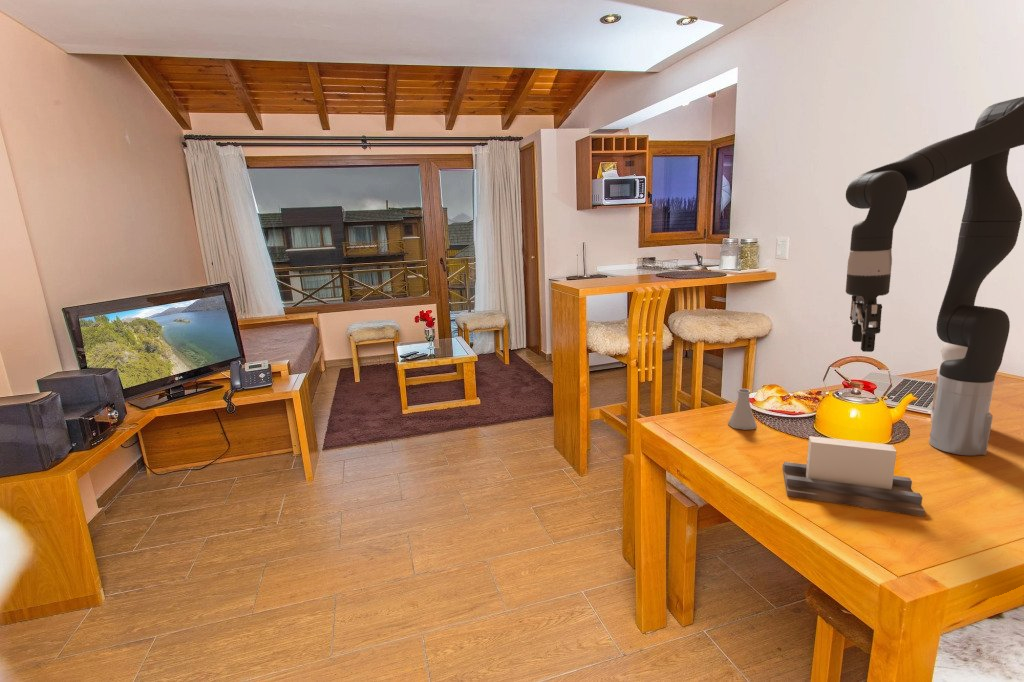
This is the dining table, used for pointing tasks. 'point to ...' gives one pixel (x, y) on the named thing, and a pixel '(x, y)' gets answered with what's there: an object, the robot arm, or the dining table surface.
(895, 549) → the dining table surface
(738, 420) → the flask
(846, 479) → the panel
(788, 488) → the track
